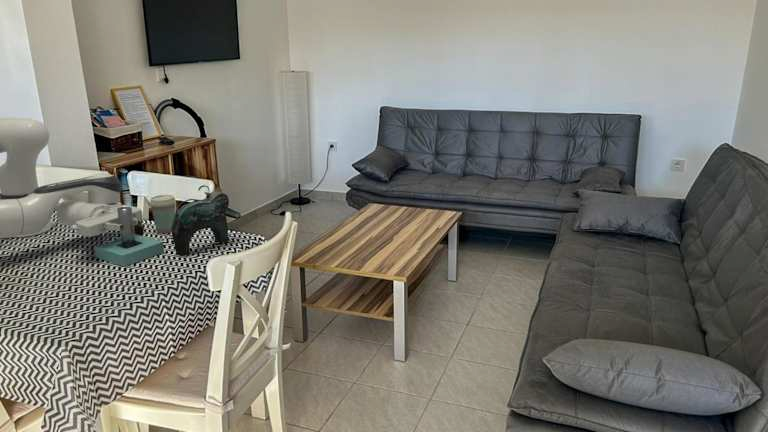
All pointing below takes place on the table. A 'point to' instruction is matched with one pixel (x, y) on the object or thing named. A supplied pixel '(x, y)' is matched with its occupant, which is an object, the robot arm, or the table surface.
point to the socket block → (129, 251)
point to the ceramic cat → (200, 219)
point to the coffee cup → (163, 212)
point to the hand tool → (139, 228)
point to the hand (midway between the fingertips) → (128, 224)
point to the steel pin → (126, 227)
